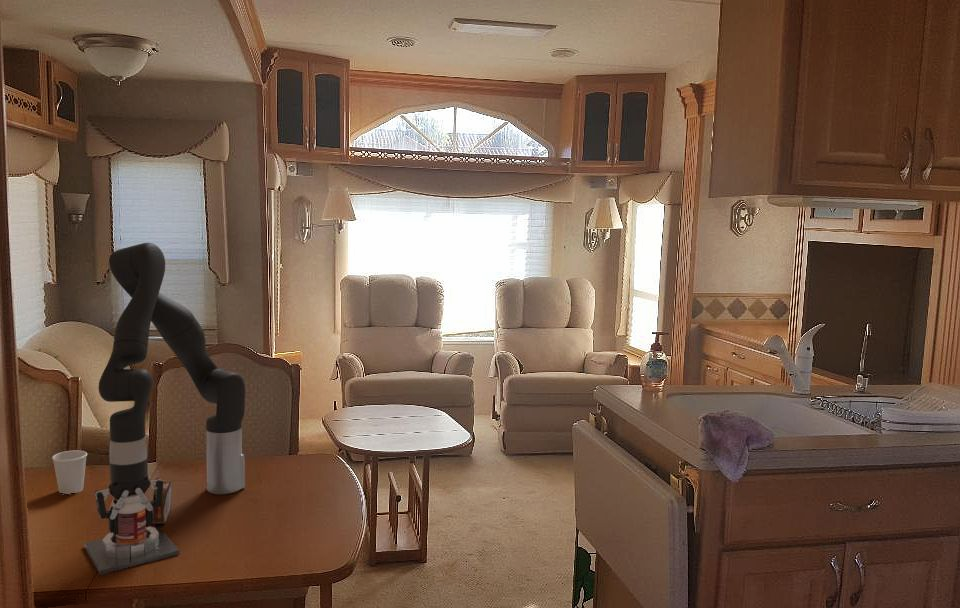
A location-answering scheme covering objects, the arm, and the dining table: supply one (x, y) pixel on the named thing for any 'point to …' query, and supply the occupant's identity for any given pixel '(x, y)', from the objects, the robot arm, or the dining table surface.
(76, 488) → the dixie cup
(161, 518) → the tin
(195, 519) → the dining table surface
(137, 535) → the pill bottle
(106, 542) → the collar
